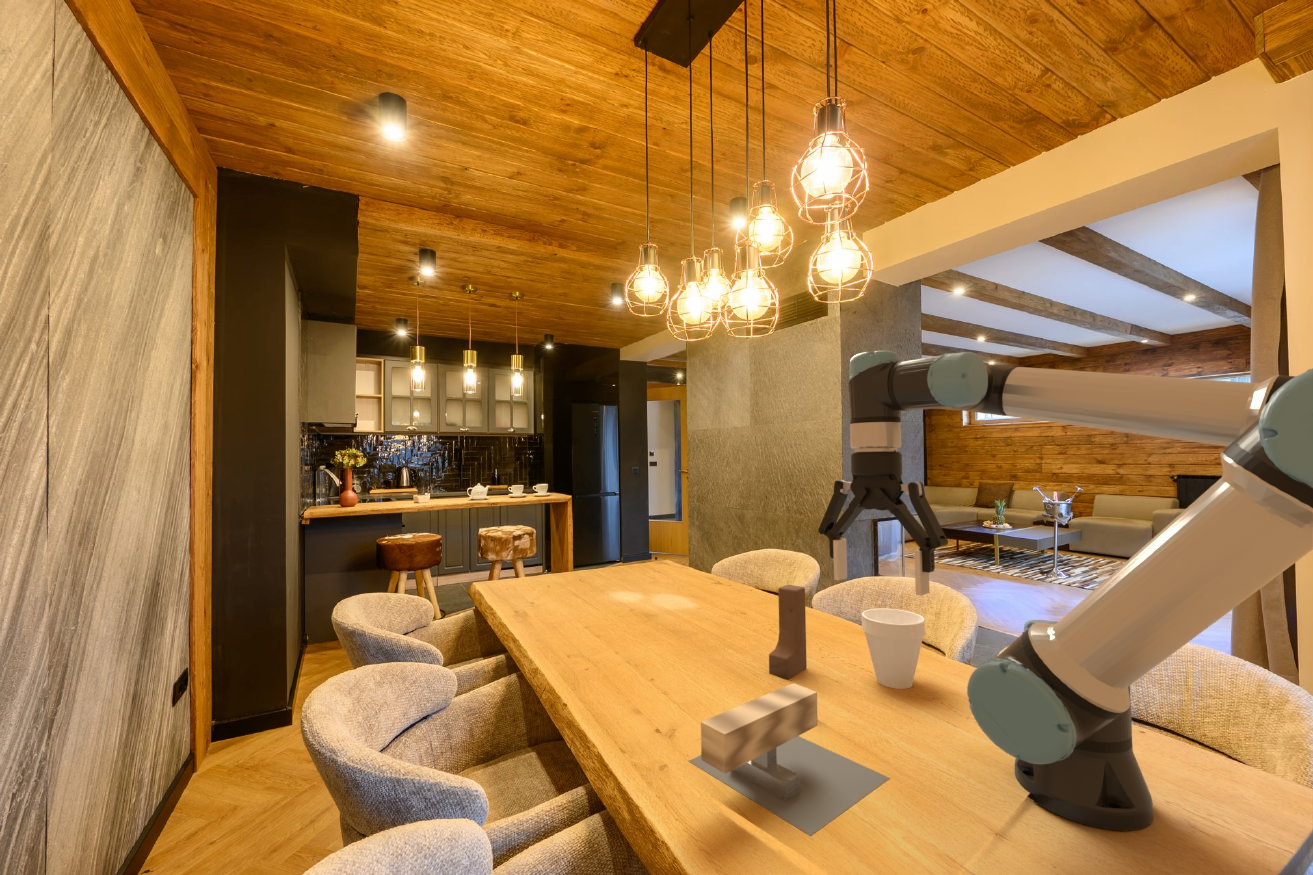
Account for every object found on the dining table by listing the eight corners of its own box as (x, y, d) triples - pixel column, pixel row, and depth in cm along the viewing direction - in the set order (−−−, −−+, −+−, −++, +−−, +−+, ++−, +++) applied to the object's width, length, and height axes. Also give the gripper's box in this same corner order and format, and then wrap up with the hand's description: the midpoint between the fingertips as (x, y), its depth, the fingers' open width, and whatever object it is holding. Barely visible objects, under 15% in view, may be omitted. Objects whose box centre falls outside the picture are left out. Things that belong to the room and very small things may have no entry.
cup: (850, 676, 119) (848, 612, 120) (893, 667, 124) (891, 605, 125) (895, 699, 108) (893, 627, 108) (941, 688, 113) (939, 620, 113)
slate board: (890, 785, 80) (890, 778, 80) (810, 844, 68) (810, 835, 68) (769, 728, 97) (769, 722, 97) (688, 767, 85) (688, 761, 85)
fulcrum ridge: (799, 794, 76) (799, 753, 76) (786, 802, 74) (785, 760, 74) (744, 763, 84) (744, 726, 84) (730, 770, 82) (730, 732, 82)
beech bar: (725, 774, 71) (724, 734, 72) (701, 759, 75) (700, 722, 75) (817, 725, 84) (816, 692, 84) (793, 715, 87) (793, 683, 88)
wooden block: (787, 680, 118) (785, 594, 118) (768, 675, 121) (766, 591, 121) (807, 668, 124) (805, 586, 125) (789, 663, 127) (787, 584, 128)
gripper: (969, 449, 81) (974, 596, 80) (821, 451, 100) (824, 570, 99) (946, 448, 76) (951, 605, 75) (796, 451, 95) (798, 576, 95)
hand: (879, 586), depth 87 cm, fingers open, 13 cm apart
